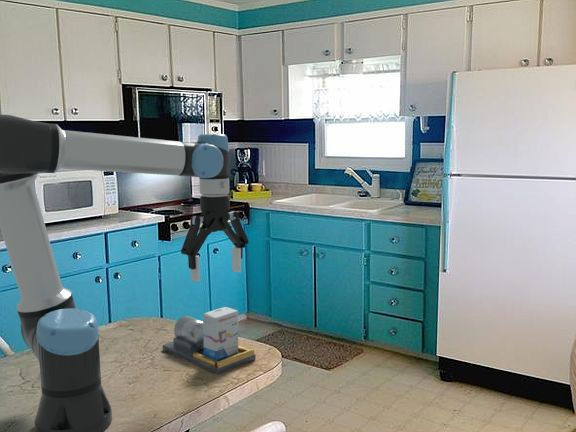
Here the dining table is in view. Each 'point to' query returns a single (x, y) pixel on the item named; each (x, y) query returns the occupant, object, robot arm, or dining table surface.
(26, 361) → the dining table surface
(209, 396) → the dining table surface
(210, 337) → the ink box
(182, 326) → the motor unit
